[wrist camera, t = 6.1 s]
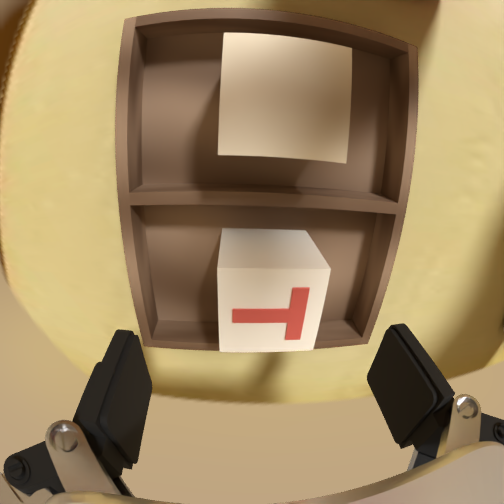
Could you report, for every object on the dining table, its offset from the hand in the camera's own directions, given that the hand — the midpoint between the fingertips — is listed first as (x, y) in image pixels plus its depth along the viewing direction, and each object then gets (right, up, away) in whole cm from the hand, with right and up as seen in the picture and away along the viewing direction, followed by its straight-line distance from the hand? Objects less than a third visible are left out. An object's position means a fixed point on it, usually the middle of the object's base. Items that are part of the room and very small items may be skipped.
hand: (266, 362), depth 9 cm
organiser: (0, +7, +5) cm, 9 cm away
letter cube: (0, +3, +6) cm, 7 cm away
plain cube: (0, +11, +3) cm, 11 cm away
